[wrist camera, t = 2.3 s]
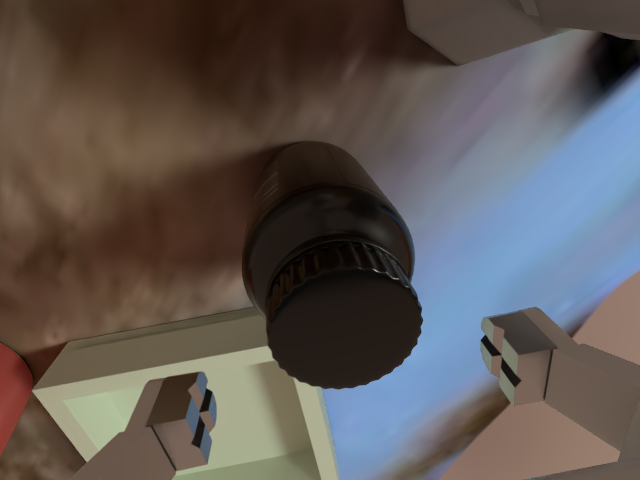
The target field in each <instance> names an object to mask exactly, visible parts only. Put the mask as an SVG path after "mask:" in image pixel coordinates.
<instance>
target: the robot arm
mask: <svg viewBox="0 0 640 480" xmlns="http://www.w3.org/2000/svg"><path fill="white" fill-rule="evenodd" d="M481 329H482V331H483V332H484V333H485V336H484V337H483V338H482V339H481V353H482V357H483V360H484V362H485V365H486V367H487V368H488V370H489V371H490V373H491V374H493V375H495V376H497V377H499V378H500V385H499V386H500V387H501V389H502V390H503V392H504V393H505V395H506V396H507V398H508V399H509V401H510V402H511V403H512V405H514V406H515V405H521V404H527V403H533V402H539V401H545V403H547V404H548V405H550V406H551V407H553V408H554V409H556V410H557V411H559V412H561V413H562V414H563V415H565V416H567V417H568V418H570V419H571V420H573V421H574V422H576V423H578V424H579V425H580V426H582V427H584V428H585V429H587V430H588V431H590V432H592V433H593V434H594V435H596V436H597V437H599V438H600V439H602V440H604V441H605V442H607V443H608V444H610V445H611V446H613V447H614V448H616V449H618V450H619V451H620V452H621V453H620V456H619V459H618V462H613V463H607V464H602V465H597V466H592V467H588V468H582V469H577V470H571V471H566V472H562V473H556V474H551V475H546V476H540V477H535V478H531V479H525V480H640V365H638V364H635V363H632V362H630V361H627V360H625V359H622V358H620V357H617V356H614V355H612V354H609V353H606V352H604V351H602V350H599V349H596V348H594V347H591V346H589V345H586V344H580V345H578V344H577V343H576V342H575V341H574V340H573V339H572V338H571V337H570V336H569V335H568V334H566V333H565V332H564V331H563V330H562V329H561V328H560V327H559V326H558V325H557V324H556V323H555V322H554V321H552V320H551V319H550V318H549V317H548V316H547V315H546V314H545V313H544V312H543V311H542V310H541V309H539V308H537V307H533V308H528V309H523V310H518V311H514V312H509V313H504V314H499V315H494V316H489V317H484V318H483V320H482V322H481ZM207 383H208V379H207V377H206V375H205V373H204V372H202V371H199V372H193V373H187V374H181V375H175V376H169V377H166V378H159V379H153V380H149V381H148V382H147V383H146V384H145V386H144V388H143V391H142V393H141V395H140V397H139V400H138V402H137V404H136V406H135V409H134V411H133V413H132V415H131V418H130V420H129V422H128V424H127V427H126V429H125V431H124V432H119V433H118V434H117V435H116V436H115V437H114V438H112V439H111V440H110V441H109V442H108V443H107V444H106V445H105V446H104V447H103V448H102V449H101V450H100V451H99V452H98V453H97V454H95V455H94V456H93V457H92V458H91V459H90V460H89V461H88V462H87V463H86V464H85V465H84V466H83V467H82V468H81V469H79V470H78V471H77V472H76V473H75V474H74V475H73V476H72V477H71V478H70V479H69V480H172V479H173V477H174V476H175V475H176V471H180V470H185V469H189V468H194V467H198V466H203V465H207V464H208V460H209V455H210V450H211V445H212V439H211V437H210V435H209V433H210V432H211V430H212V429H213V428H214V427H215V424H216V418H217V405H216V400H215V396H214V394H213V392H212V391H211V390H209V389H207V388H206V387H207Z"/></svg>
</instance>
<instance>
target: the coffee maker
mask: <svg viewBox="0 0 640 480" xmlns="http://www.w3.org/2000/svg"><path fill="white" fill-rule="evenodd" d="M403 4H404V11H405V18H406V24H407V30H408V31H410V32H411V33H413V34H414V35H416V36H417V37H418V38H420V39H421V40H423V41H424V42H425V43H427V44H428V45H430V46H431V47H433V48H434V49H435V50H437V51H438V52H440V53H441V54H443V55H444V56H445V57H447V58H448V59H450V60H451V61H452V62H454V63H455V64H457V65H458V66H460V65H463V64H466V63H469V62H473V61H476V60H479V59H482V58H485V57H488V56H492V55H495V54H498V53H501V52H504V51H507V50H511V49H514V48H517V47H520V46H523V45H526V44H530V43H533V42H536V41H539V40H542V39H545V38H549V37H552V36H555V35H558V34H561V33H564V32H568V31H571V30H574V29H582V30H594V31H602V32H605V33H608V34H611V35H614V36H617V37H620V38H627V39H636V40H640V0H403Z"/></svg>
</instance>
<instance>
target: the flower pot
mask: <svg viewBox="0 0 640 480" xmlns="http://www.w3.org/2000/svg"><path fill="white" fill-rule="evenodd" d="M32 389H33V378H32V374H31V372H30V370H29V368H28V366H27V364H26V363H25V362H24V360H23V359H22V358H21V357H20V356H19V355H18V354H17V353H15V352H14V351H13V350H12V349H10V348H9V347H7V346H6V345H4V344H2V343H0V455H1V454H2V452H3V450H4V448H5V446H6V444H7V442H8V440H9V438H10V436H11V434H12V432H13V430H14V428H15V426H16V424H17V422H18V420H19V418H20V416H21V414H22V412H23V410H24V407H25V405H26V403H27V401H28V399H29V397H30V395H31V393H32Z"/></svg>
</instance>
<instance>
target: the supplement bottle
mask: <svg viewBox="0 0 640 480" xmlns="http://www.w3.org/2000/svg"><path fill="white" fill-rule="evenodd" d="M414 265H415V251H414V245H413V240H412V237H411V234H410V232H409V229H408V227H407V225H406V224H405V222H404V220H403V218H402V217H401V215H400V214H399V213H398V211H397V210H396V209H395V207H394V206H393V205H392V204H391V202H390V201H389V200H388V199H387V197H386V196H385V195H384V194H383V192H382V191H381V190H380V189H379V187H378V186H377V185H376V184H375V182H374V181H373V180H372V178H371V177H370V176H369V175H368V173H367V172H366V171H365V170H364V168H363V167H362V166H361V165H360V164H359V163H358V162H357V161H356V159H355V158H354V157H352V156H351V155H350V154H349V153H347V152H346V151H345V150H343V149H341V148H339V147H337V146H335V145H332V144H329V143H324V142H317V141H309V142H301V143H297V144H294V145H291V146H288V147H286V148H284V149H282V150H281V151H279V152H278V153H276V154H275V155H274V156H273V157H271V158H270V159H269V160H268V161H267V163H266V164H265V165H264V167H263V168H262V170H261V171H260V173H259V175H258V177H257V180H256V182H255V186H254V190H253V194H252V200H251V206H250V212H249V218H248V224H247V230H246V235H245V241H244V247H243V254H242V277H243V282H244V286H245V289H246V292H247V295H248V297H249V299H250V301H251V302H252V304H253V306H254V307H255V308H256V310H257V311H258V312H259V313H260V314H261V316H262V317H263V318H264V319H265V320H266V334H267V344H268V347H269V348H270V350H271V354H272V358H273V359H274V360H276V361H277V362H278V365H279V368H281V369H283V370H285V371H286V373H287V374H288V376H291V377H294V378H296V379H297V380H298V381H299V382H302V383H307V384H308V385H310V386H313V387H321V388H324V389H329V388H334V389H343V388H354V387H356V386H359V385H367V384H368V383H370V382H371V381H375V380H379V379H380V378H381V377H382V376H384V375H386V374H389V373H391V372H392V371H393V369H394V368H396V367H398V366H399V365H401V364H402V363H403V361H404V359H405V358H407V357H408V356H409V355H410V354H411V351H412V349H413V348H414V347H415V346H416V345H417V338H418V337H419V336H420V334H421V328H420V327H421V325H422V322H423V318H422V316H421V312H422V307H421V304H420V302H419V301H418V297H417V294H416V292H415V290H414V288H413V287H412V285H411V280H412V277H413V272H414Z"/></svg>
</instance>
